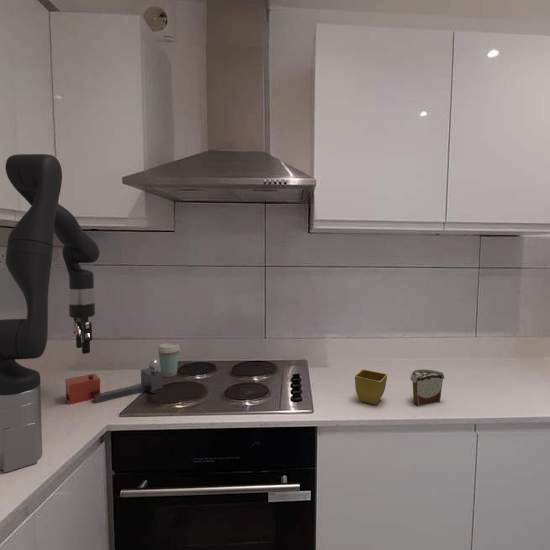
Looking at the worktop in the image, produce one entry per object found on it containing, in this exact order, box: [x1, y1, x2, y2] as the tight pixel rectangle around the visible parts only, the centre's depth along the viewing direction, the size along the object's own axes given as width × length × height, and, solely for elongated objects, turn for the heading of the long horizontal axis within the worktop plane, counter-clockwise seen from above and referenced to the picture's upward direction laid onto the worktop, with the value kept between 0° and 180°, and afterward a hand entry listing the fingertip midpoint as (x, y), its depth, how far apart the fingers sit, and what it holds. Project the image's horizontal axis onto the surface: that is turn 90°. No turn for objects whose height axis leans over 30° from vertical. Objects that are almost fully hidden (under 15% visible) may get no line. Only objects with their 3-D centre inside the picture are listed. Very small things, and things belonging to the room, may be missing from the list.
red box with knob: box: [64, 373, 101, 405], centre depth 120 cm, size 6×9×7 cm
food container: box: [410, 369, 445, 407], centre depth 121 cm, size 12×6×10 cm, turn 111°
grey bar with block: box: [92, 358, 164, 404], centre depth 123 cm, size 10×22×11 cm, turn 130°
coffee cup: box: [157, 342, 181, 378], centre depth 143 cm, size 8×8×12 cm
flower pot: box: [354, 369, 388, 405], centre depth 120 cm, size 9×9×9 cm
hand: (82, 350), depth 119 cm, fingers open, 8 cm apart
